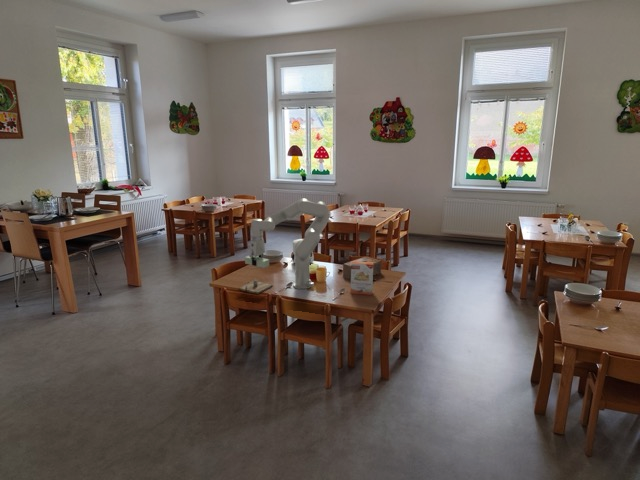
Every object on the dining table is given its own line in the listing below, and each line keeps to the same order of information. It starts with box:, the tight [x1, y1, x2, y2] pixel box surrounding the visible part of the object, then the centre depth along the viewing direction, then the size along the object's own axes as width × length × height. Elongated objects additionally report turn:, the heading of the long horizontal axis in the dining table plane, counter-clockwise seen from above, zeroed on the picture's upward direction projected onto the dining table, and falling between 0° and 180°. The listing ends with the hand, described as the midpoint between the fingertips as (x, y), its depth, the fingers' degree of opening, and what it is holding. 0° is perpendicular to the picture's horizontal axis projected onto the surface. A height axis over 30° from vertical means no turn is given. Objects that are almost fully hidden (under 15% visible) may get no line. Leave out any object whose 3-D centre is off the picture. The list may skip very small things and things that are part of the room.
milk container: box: [291, 238, 315, 265], centre depth 334 cm, size 17×17×18 cm
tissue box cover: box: [342, 256, 382, 280], centre depth 308 cm, size 26×14×10 cm, turn 135°
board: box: [238, 279, 273, 295], centre depth 282 cm, size 16×16×6 cm
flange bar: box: [244, 255, 270, 269], centre depth 280 cm, size 16×5×4 cm, turn 59°
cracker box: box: [349, 260, 374, 296], centre depth 272 cm, size 14×6×21 cm, turn 80°
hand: (257, 264), depth 280 cm, fingers closed on flange bar, 5 cm apart
